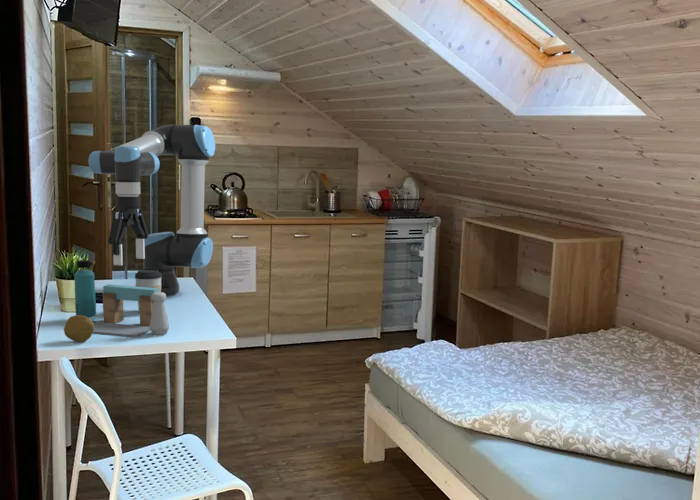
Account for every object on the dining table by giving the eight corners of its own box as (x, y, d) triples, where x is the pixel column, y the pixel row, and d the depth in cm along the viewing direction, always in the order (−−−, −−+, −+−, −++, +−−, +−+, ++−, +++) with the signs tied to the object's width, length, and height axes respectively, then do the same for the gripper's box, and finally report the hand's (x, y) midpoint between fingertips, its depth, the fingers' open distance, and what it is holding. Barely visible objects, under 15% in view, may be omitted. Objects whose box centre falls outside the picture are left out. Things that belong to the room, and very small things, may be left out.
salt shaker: (146, 333, 218) (145, 292, 216) (162, 330, 222) (162, 289, 220) (155, 337, 214) (154, 295, 212) (172, 334, 218) (171, 293, 216)
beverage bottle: (101, 319, 233) (98, 260, 230) (84, 323, 227) (82, 262, 224) (87, 316, 236) (85, 257, 233) (71, 320, 231) (68, 260, 228)
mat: (97, 323, 228) (97, 322, 228) (153, 328, 223) (153, 327, 223) (78, 331, 218) (78, 330, 218) (137, 337, 214) (137, 335, 214)
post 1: (112, 319, 234) (111, 289, 232) (123, 320, 233) (122, 290, 231) (103, 323, 229) (102, 293, 227) (114, 324, 228) (113, 294, 226)
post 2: (148, 322, 231) (147, 292, 229) (159, 323, 230) (158, 293, 229) (140, 326, 226) (139, 296, 224) (151, 327, 225) (150, 296, 223)
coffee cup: (155, 316, 239) (154, 272, 237) (130, 314, 241) (129, 271, 238) (167, 309, 248) (166, 268, 245) (143, 308, 250) (142, 266, 247)
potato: (63, 340, 209) (61, 314, 208) (89, 336, 213) (88, 311, 212) (68, 346, 203) (67, 319, 202) (96, 342, 208) (95, 316, 206)
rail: (108, 296, 232) (108, 284, 231) (158, 300, 228) (158, 288, 227) (103, 298, 229) (103, 286, 228) (154, 302, 225) (153, 290, 224)
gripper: (137, 192, 236) (138, 255, 239) (94, 197, 212) (96, 267, 215) (158, 193, 234) (159, 256, 237) (117, 198, 210) (119, 268, 213)
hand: (129, 261), depth 226 cm, fingers open, 13 cm apart
